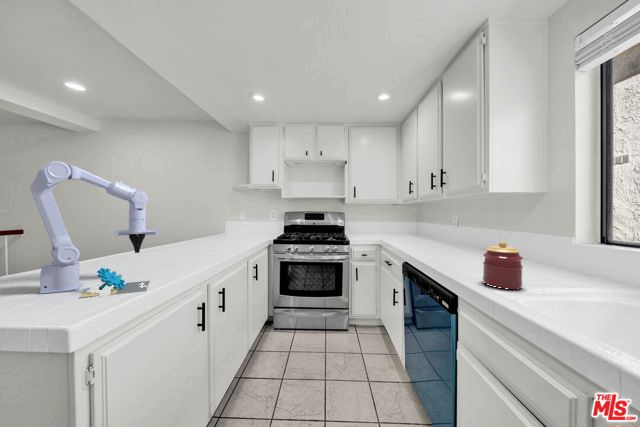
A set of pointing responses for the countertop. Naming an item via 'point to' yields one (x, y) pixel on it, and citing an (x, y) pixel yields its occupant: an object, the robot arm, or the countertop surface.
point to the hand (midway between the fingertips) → (137, 252)
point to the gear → (110, 279)
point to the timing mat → (127, 288)
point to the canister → (503, 267)
